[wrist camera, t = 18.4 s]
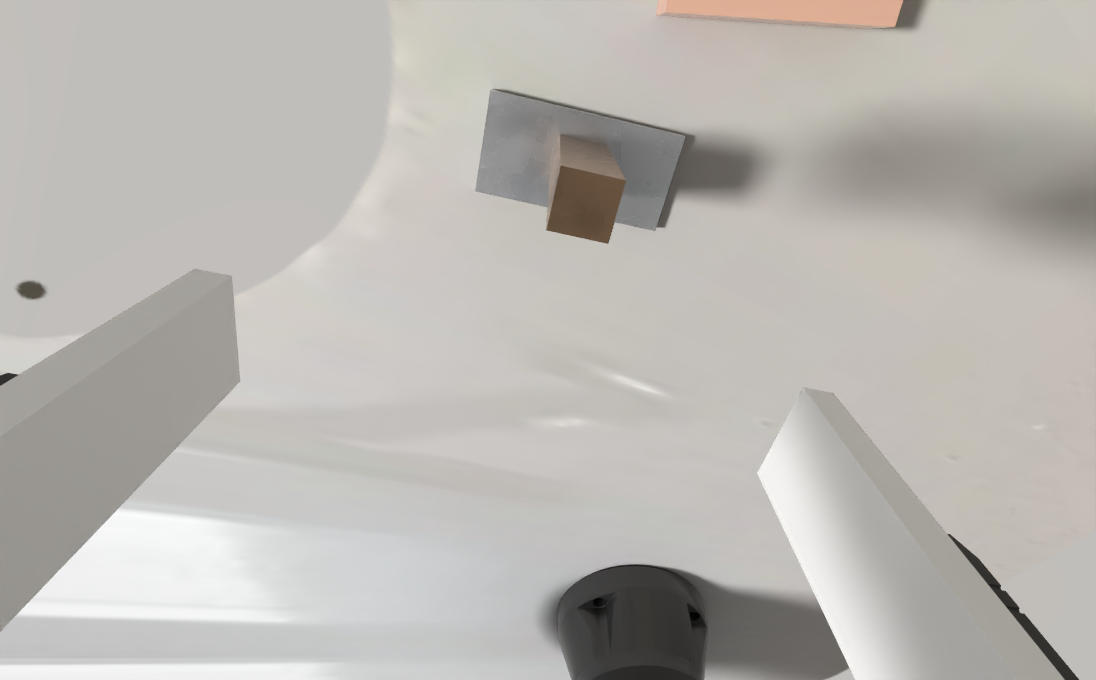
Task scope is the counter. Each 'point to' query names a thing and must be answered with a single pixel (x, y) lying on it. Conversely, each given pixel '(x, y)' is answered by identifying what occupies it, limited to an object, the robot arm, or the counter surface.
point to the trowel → (576, 165)
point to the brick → (790, 11)
